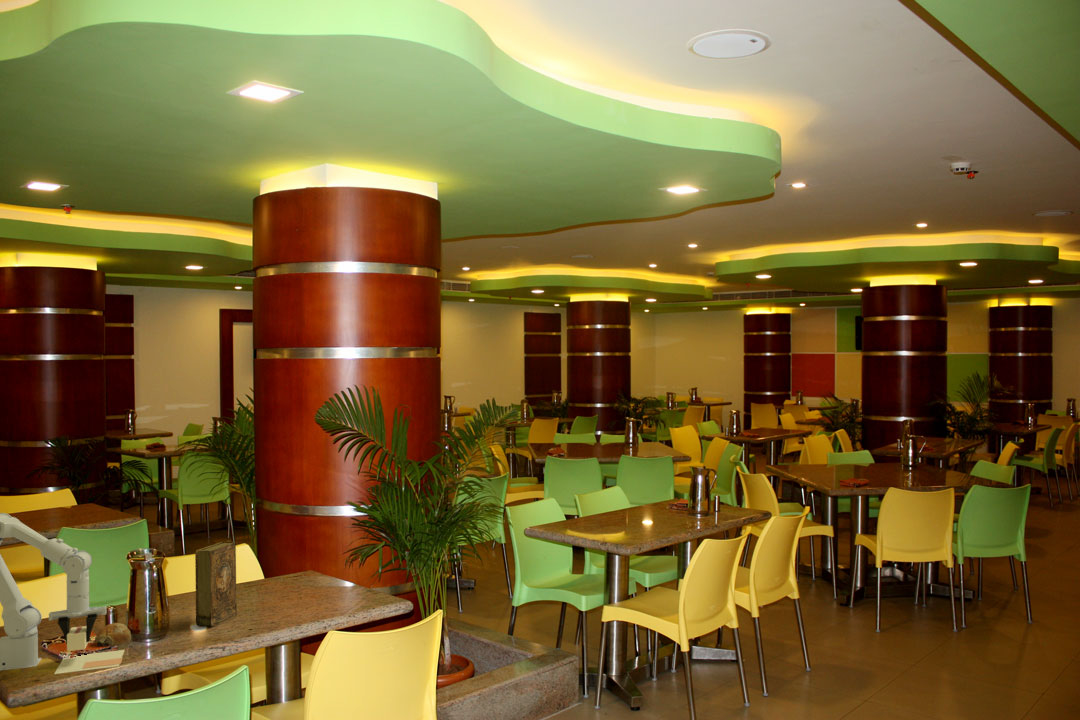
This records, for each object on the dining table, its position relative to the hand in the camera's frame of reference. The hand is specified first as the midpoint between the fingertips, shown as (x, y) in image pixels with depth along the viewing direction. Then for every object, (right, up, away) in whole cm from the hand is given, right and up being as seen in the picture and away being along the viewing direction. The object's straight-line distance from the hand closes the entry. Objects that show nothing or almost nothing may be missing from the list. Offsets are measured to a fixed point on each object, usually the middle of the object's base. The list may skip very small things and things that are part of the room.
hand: (78, 642), depth 246 cm
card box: (0, -1, 0) cm, 1 cm away
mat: (+4, -6, -1) cm, 7 cm away
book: (+25, -6, +41) cm, 48 cm away
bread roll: (+1, -7, +18) cm, 19 cm away
